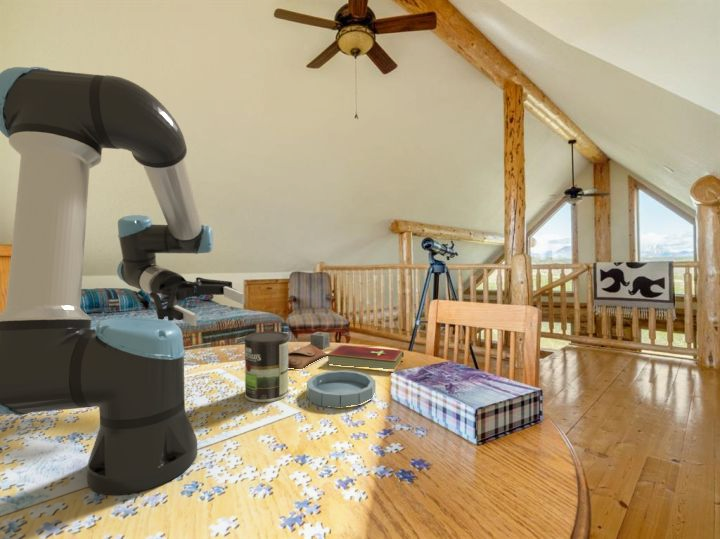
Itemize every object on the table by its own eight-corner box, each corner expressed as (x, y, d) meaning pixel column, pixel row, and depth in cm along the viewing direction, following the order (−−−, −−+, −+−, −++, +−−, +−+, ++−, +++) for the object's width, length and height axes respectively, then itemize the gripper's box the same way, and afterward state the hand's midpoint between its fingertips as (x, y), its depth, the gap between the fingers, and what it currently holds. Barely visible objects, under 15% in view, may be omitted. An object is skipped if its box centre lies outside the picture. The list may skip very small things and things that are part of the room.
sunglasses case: (301, 371, 103) (291, 350, 104) (284, 380, 106) (274, 359, 107) (331, 354, 120) (322, 336, 121) (315, 363, 122) (306, 345, 123)
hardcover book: (340, 356, 120) (340, 343, 120) (403, 362, 113) (403, 349, 113) (326, 367, 108) (326, 353, 108) (395, 374, 102) (395, 360, 102)
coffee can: (260, 407, 80) (259, 343, 79) (236, 394, 87) (236, 336, 86) (298, 393, 87) (297, 335, 86) (273, 382, 94) (273, 329, 94)
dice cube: (310, 348, 128) (310, 334, 127) (317, 345, 132) (317, 331, 132) (323, 350, 126) (323, 335, 125) (329, 346, 130) (329, 332, 130)
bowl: (384, 403, 82) (384, 390, 82) (313, 412, 77) (313, 398, 77) (363, 379, 97) (363, 368, 97) (303, 385, 92) (303, 373, 92)
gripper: (206, 282, 105) (260, 304, 95) (115, 315, 84) (172, 346, 75) (204, 258, 102) (259, 278, 93) (109, 285, 82) (168, 314, 72)
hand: (220, 308), depth 84 cm, fingers open, 13 cm apart
